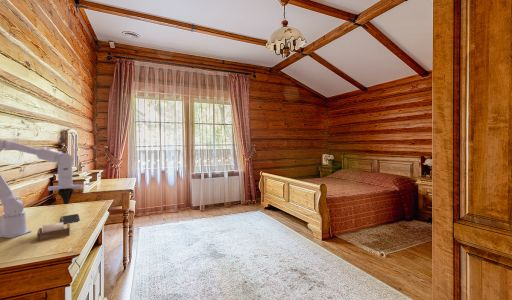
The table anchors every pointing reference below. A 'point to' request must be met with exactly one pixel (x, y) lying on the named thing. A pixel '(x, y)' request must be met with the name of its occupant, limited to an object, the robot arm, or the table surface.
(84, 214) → the table surface
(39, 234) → the roll holder
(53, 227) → the paper roll
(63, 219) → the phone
